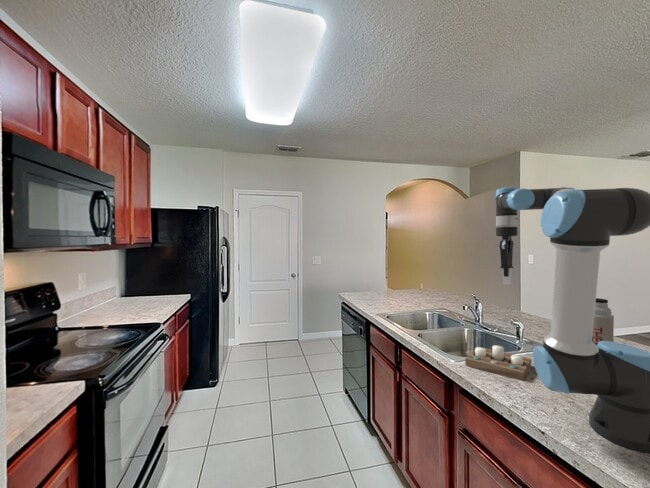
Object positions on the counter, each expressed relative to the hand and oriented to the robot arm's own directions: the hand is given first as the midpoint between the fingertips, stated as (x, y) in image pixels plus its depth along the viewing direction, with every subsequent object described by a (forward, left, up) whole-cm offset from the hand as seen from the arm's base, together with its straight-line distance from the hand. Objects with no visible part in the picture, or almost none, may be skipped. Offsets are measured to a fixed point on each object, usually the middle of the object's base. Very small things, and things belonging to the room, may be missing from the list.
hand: (506, 284), depth 125 cm
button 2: (-6, +2, -30) cm, 31 cm away
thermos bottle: (+10, -28, -33) cm, 44 cm away
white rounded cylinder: (-6, +8, -32) cm, 34 cm away
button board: (-6, +2, -32) cm, 33 cm away
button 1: (-6, -5, -32) cm, 33 cm away
